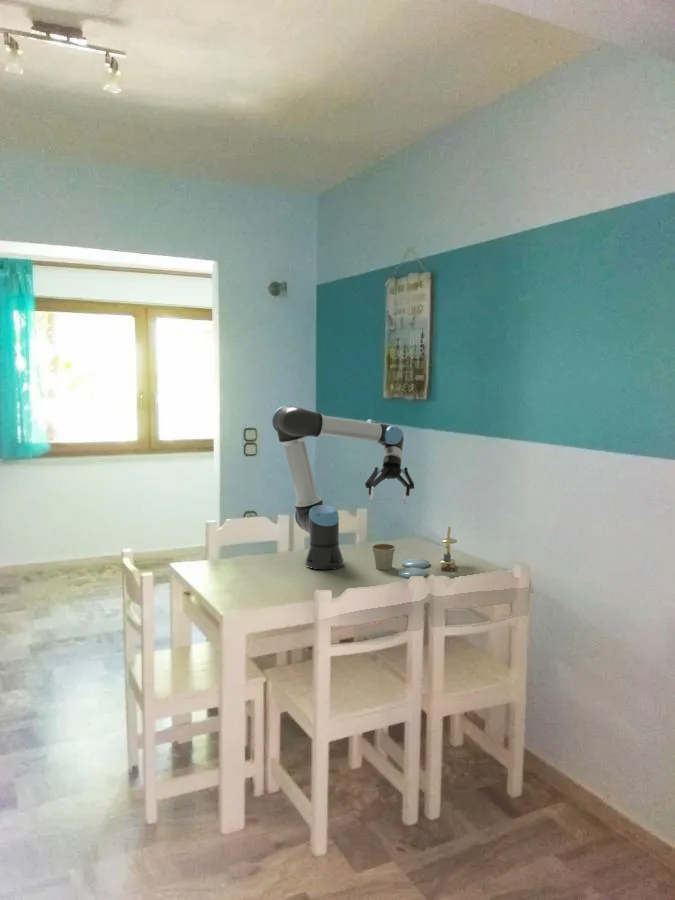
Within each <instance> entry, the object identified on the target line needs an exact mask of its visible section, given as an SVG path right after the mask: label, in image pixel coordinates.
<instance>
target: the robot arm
mask: <svg viewBox="0 0 675 900" xmlns="http://www.w3.org/2000/svg"><path fill="white" fill-rule="evenodd" d="M271 424H272V427H273V428H274V430H275V431H276V432H277V437H278V440H279V443H280V444H283V446H284V449H285V455H286V459H287V461H288V466H289V470H290V474H291V475H290V476H291V479H292V485H293V488H294V492H295V496H296V500H295V503H294V508H295V512H294V520H295V523H296V524H297V525H298V527H299V528H300V529H301V530H302V531H305V532H307V533H309V549H308V552H307V555H306V559H305V566H306V565H307V566H309V567H312V568H316V569H333V570H335V569H334V568H337V569H340V568H342V567H343V566H344V557H343V554H342V551H341V549H340V543H339V542H340V539H339V538H340V529H339V527H340V515H339V510H338V509H337V508H336V507H334V506H331V505H328V504H327V505H326V504H324V502H323V498H322V497H321V496H319V494H318V492H317V488H316V483H315V479H314V475H313V471H312V467H311V463H310V457H309V454H308V449H307V445H306V442H305V441H306V438H307V437H313V438H319V437H320V436H327V437H335V438H341V439H342V438H344V439H352V440H360V441H367V442H375V443H378V444H380V445H381V446H383V447H384V452H383V461H382V468H379V467H377V466H376V467H374V470H373V472H372V474H371V475H370V476H369V477H368V479H367V480H366V481H365V488H366V489H368V495H369V496H370V497H369V500H370V504H374V496H375V487H377V486H378V485H379V484H381V482H382V481H384V480H386V479H387V480H395V479H396V480H397V481H399V482H400V483H401V484H402V485H403V487H404V489H403V490H404V491H403V504H407V497H410V493H411V492H410V490H412V489H413V490H414V489H415V484H414V481H413V480H412V477H411V475H410V474H409V472H408V471H409V470H408V467H406V466H405V467H404V468H402V467H401V466H402V455H403V445H404V431H403V430H402V429H401V428H399V427H398V426H396V425H390V424H385V423H379V422H377V421H376V420H373V419H371V418H369V419H367V420H366V421H363V420H362V421H361V420H355V419H347V418H339V417H333V416H326V415H323V414H322V413H321V412H316V411H312V410H308V409H304V408H302V407H299V406H294V405H284V406H281V407H279V408H278V407H277V409H276V410H275V411H274V412H273V414H272V418H271ZM401 474H403V475H404V476H405V478H406V479H404V477H402V475H401ZM378 475H379V476H378ZM307 566H306V567H307ZM341 566H342V567H341ZM339 567H340V568H339Z"/></svg>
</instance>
